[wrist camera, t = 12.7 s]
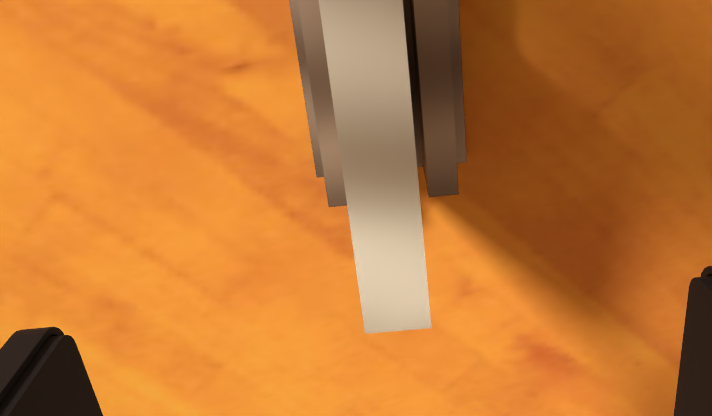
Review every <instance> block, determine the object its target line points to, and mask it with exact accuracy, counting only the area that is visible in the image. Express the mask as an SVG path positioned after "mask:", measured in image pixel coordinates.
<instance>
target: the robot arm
mask: <svg viewBox="0 0 712 416" xmlns="http://www.w3.org/2000/svg"><path fill="white" fill-rule="evenodd" d="M0 416H103V414H102V412H101V409H100V406H99V404H98V401H97V398H96V396H95V393H94V390H93V388H92V385H91V382H90V380H89V377H88V374H87V372H86V369H85V366H84V364H83V361H82V358H81V356H80V353H79V351H78V348H77V345H76V343H75V341H74V339H73V338H72V337H71V336H69V335H64V334H63V332H62V331H61V330H60V329H59V328H56V327H47V328H36V329H26V330H19V331H16V332H15V333H14V334H13V335H12V336H11V337H10V338H9V339H8V341H7V342H6V343H5V344H4V345H3V347H2V348H1V349H0ZM674 416H712V266H708V267H706V268H704V270H703V272H702V273H701V277H696V278H693V279H692V280H691V282H690V286H689V293H688V301H687V309H686V318H685V326H684V335H683V343H682V351H681V360H680V368H679V376H678V385H677V393H676V402H675V410H674Z"/></svg>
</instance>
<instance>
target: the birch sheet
mask: <svg viewBox="0 0 712 416" xmlns="http://www.w3.org/2000/svg"><path fill="white" fill-rule="evenodd" d="M319 7H320V15H321V22H322V29H323V36H324V43H325V50H326V57H327V65H328V72H329V79H330V86H331V93H332V100H333V107H334V115H335V122H336V129H337V136H338V143H339V150H340V157H341V165H342V172H343V179H344V186H345V193H346V200H347V207H348V215H349V222H350V229H351V236H352V243H353V250H354V257H355V265H356V272H357V279H358V286H359V293H360V300H361V307H362V315H363V322H364V329H365V334H367V333H378V332H390V331H401V330H413V329H425V328H431V318H430V307H429V295H428V284H427V273H426V261H425V250H424V238H423V227H422V216H421V204H420V193H419V182H418V170H417V159H416V147H415V136H414V125H413V113H412V102H411V90H410V79H409V68H408V56H407V45H406V34H405V22H404V11H403V0H319Z"/></svg>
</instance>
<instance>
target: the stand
mask: <svg viewBox="0 0 712 416" xmlns="http://www.w3.org/2000/svg"><path fill="white" fill-rule="evenodd" d="M289 2H290V9H291V15H292V22H293V28H294V34H295V41H296V47H297V54H298V60H299V66H300V73H301V79H302V86H303V92H304V98H305V105H306V111H307V118H308V124H309V130H310V137H311V143H312V150H313V156H314V162H315V169H316V175H317V177H324V179H325V185H326V192H327V198H328V205H329V207H336V206H346V205H347V200H346V193H345V186H344V179H343V172H342V165H341V157H340V150H339V143H338V136H337V129H336V122H335V115H334V107H333V100H332V93H331V86H330V79H329V72H328V65H327V57H326V50H325V43H324V36H323V29H322V22H321V15H320V7H319V0H289ZM403 11H404V22H405V34H406V45H407V56H408V68H409V79H410V90H411V102H412V113H413V125H414V136H415V147H416V159H417V167H423V169H424V174H425V179H426V184H427V190H428V195H429V197H437V196H447V195H457V194H459V192H458V175H457V163H463V162H467V158H466V139H465V119H464V100H463V80H462V61H461V41H460V22H459V2H458V0H403Z"/></svg>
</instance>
